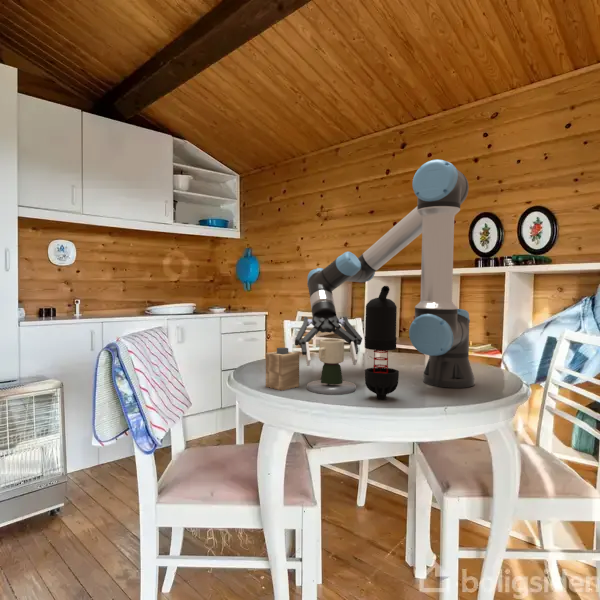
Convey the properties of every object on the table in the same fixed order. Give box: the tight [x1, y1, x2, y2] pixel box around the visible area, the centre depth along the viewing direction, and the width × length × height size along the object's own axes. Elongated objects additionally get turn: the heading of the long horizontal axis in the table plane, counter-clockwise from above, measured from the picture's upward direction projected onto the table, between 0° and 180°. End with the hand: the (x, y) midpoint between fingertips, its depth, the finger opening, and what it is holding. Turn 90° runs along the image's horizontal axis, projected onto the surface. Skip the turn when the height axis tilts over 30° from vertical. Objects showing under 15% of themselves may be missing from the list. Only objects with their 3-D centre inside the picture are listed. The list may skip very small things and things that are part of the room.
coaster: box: [306, 379, 356, 396], centre depth 129 cm, size 14×14×1 cm
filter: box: [364, 285, 400, 401], centre depth 118 cm, size 14×9×30 cm
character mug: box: [318, 338, 345, 385], centre depth 129 cm, size 11×7×13 cm, turn 136°
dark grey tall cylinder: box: [276, 347, 289, 354], centre depth 131 cm, size 3×3×10 cm
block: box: [265, 351, 300, 391], centre depth 131 cm, size 7×7×10 cm
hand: (332, 362), depth 127 cm, fingers open, 13 cm apart
